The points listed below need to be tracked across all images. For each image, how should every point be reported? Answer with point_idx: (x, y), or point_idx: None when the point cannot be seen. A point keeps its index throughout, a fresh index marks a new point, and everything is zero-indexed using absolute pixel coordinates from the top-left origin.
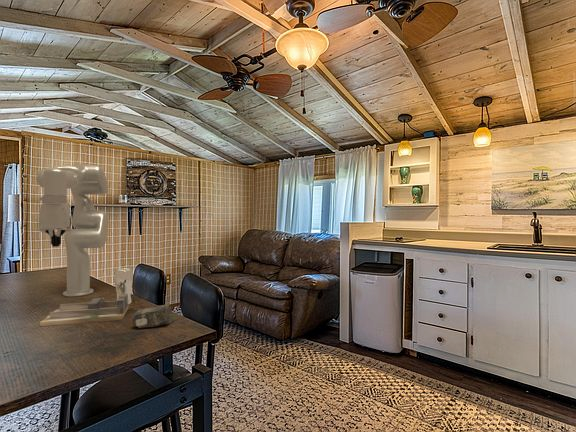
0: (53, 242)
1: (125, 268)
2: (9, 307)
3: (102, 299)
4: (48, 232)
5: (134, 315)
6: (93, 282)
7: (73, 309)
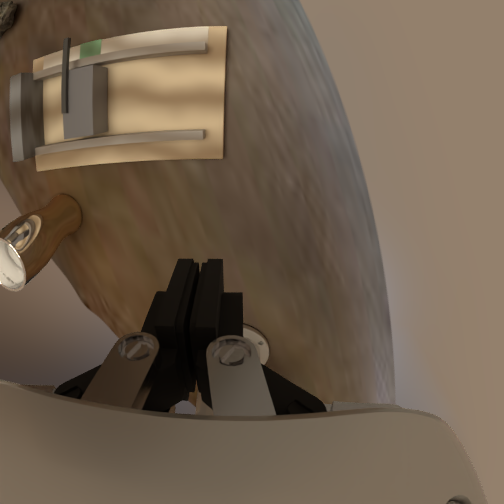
0: (206, 280)
1: (11, 288)
2: (371, 256)
3: (63, 113)
4: (279, 398)
5: (2, 8)
6: None
7: (164, 130)
